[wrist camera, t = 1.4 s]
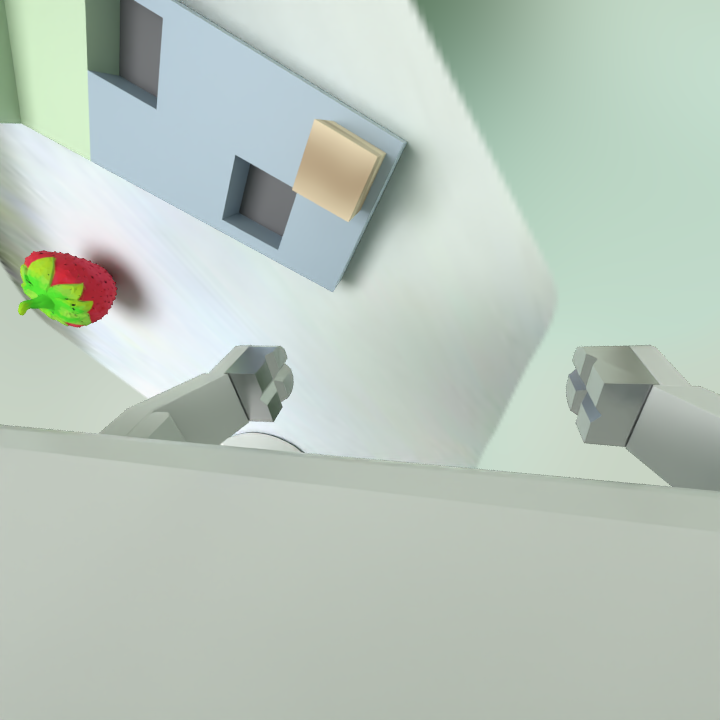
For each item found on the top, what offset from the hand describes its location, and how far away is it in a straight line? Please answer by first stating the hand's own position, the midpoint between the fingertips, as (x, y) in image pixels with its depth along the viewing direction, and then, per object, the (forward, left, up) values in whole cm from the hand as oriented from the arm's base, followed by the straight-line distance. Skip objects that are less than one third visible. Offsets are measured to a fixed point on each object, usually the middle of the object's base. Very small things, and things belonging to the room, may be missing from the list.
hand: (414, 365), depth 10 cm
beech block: (0, +7, -18) cm, 19 cm away
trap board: (-3, +18, -21) cm, 28 cm away
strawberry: (-21, +27, -21) cm, 40 cm away
